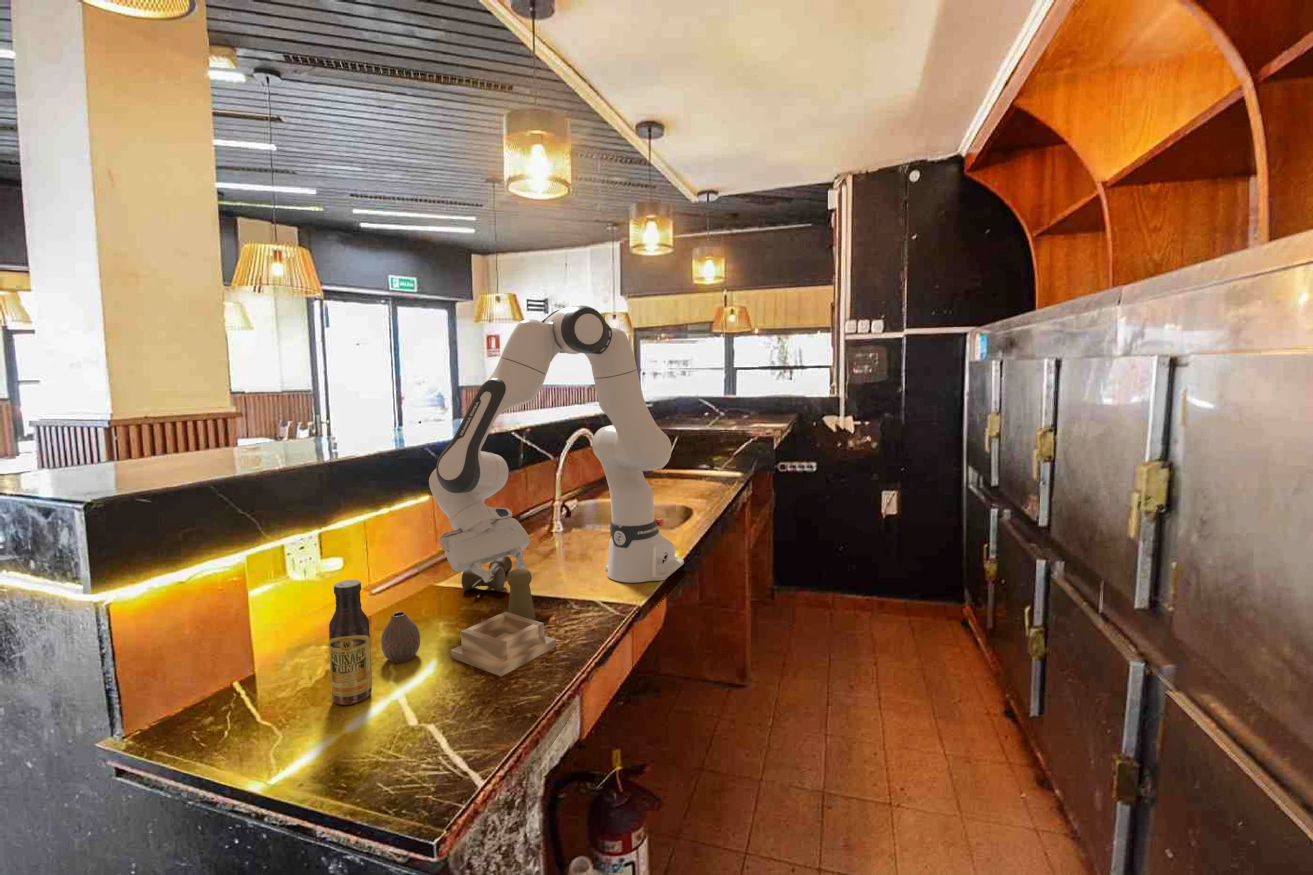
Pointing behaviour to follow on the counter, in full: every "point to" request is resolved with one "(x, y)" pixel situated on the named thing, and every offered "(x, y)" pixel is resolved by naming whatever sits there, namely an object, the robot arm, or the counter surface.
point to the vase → (400, 638)
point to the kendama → (498, 571)
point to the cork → (520, 593)
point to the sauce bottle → (349, 646)
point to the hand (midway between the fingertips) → (506, 573)
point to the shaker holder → (502, 643)
